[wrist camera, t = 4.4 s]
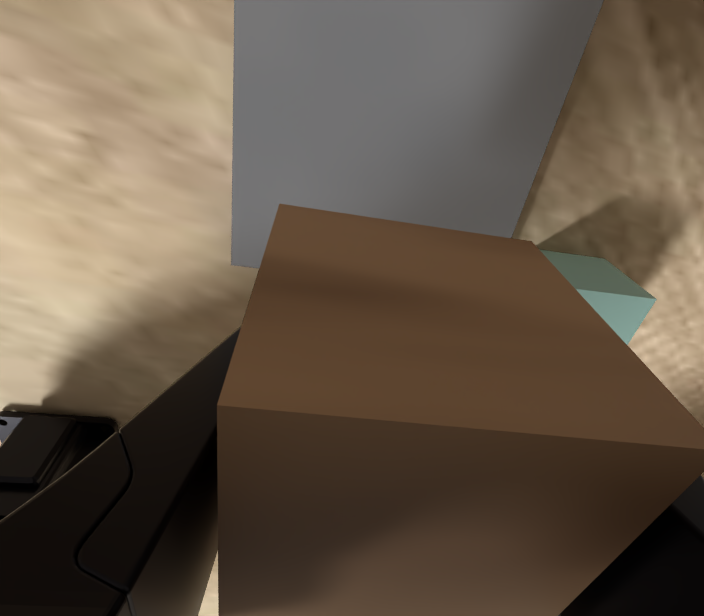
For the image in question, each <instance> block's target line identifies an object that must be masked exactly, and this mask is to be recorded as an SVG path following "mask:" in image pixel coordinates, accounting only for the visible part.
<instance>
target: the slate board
mask: <svg viewBox="0 0 704 616" xmlns="http://www.w3.org/2000/svg"><path fill="white" fill-rule="evenodd" d="M603 1H604V0H234V77H233V161H232V246H231V265H235V266H244V267H252V268H260V265H261V262H262V258H263V255H264V252H265V249H266V245H267V242H268V239H269V236H270V233H271V229H272V226H273V223H274V220H275V216H276V213H277V210H278V207H279V204H286V205H293V206H299V207H306V208H313V209H319V210H326V211H333V212H339V213H346V214H353V215H359V216H366V217H373V218H379V219H386V220H393V221H399V222H406V223H412V224H419V225H426V226H432V227H439V228H446V229H452V230H459V231H466V232H472V233H479V234H486V235H492V236H499V237H506V238H511V237H512V235H513V232H514V230H515V227H516V224H517V222H518V219H519V217H520V214H521V212H522V209H523V206H524V204H525V201H526V199H527V196H528V194H529V191H530V188H531V186H532V183H533V181H534V178H535V176H536V173H537V170H538V168H539V165H540V163H541V160H542V158H543V155H544V152H545V150H546V147H547V145H548V142H549V140H550V137H551V134H552V132H553V129H554V127H555V124H556V122H557V119H558V117H559V114H560V111H561V109H562V106H563V104H564V101H565V99H566V96H567V93H568V91H569V88H570V86H571V83H572V81H573V78H574V75H575V73H576V70H577V68H578V65H579V63H580V60H581V57H582V55H583V52H584V50H585V47H586V45H587V42H588V39H589V37H590V34H591V32H592V29H593V27H594V24H595V21H596V19H597V16H598V14H599V11H600V9H601V6H602V3H603Z"/></svg>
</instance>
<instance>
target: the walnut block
mask: <svg viewBox="0 0 704 616" xmlns="http://www.w3.org/2000/svg"><path fill="white" fill-rule="evenodd" d="M217 469H218V593H219V616H558V615H559V614H560V613H561V612H562V611H563V610H564V609H565V608H566V607H567V606H568V605H569V604H570V603H571V602H572V601H573V600H574V599H575V598H576V597H577V596H578V595H579V594H580V593H581V592H582V591H583V590H584V589H585V588H586V587H587V586H588V585H589V584H590V583H591V582H592V581H593V580H595V579H596V578H597V577H598V576H599V575H600V574H601V573H602V572H603V571H604V570H605V569H606V568H607V567H608V566H609V565H610V564H611V563H612V562H613V561H614V560H615V559H616V558H617V557H618V556H619V555H620V554H621V553H622V552H623V551H624V550H625V549H626V548H627V547H628V546H629V545H630V544H631V543H632V542H633V541H634V540H635V539H636V538H637V537H638V536H639V535H640V534H641V533H642V532H643V531H644V530H645V529H646V528H647V527H648V526H649V525H650V524H651V523H652V522H653V521H654V520H655V519H656V518H657V517H658V516H659V515H660V514H661V513H662V512H663V511H664V510H665V509H666V508H667V507H668V506H669V505H670V504H672V503H673V502H674V501H675V500H676V499H677V498H678V497H679V496H680V495H681V494H682V493H683V492H684V491H685V490H686V489H687V488H688V487H689V486H690V485H691V484H692V483H693V482H694V481H695V480H696V479H697V478H698V477H699V476H700V475H701V474H702V473H703V472H704V428H703V427H702V426H701V425H700V424H699V423H698V422H697V420H696V419H695V418H694V417H693V416H692V415H691V414H690V413H689V412H688V411H687V410H686V409H685V407H684V406H683V405H682V404H681V403H680V402H679V401H678V400H677V399H676V398H675V397H674V395H673V394H672V393H671V392H670V391H669V390H668V389H667V388H666V387H665V386H664V385H663V384H662V382H661V381H660V380H659V379H658V378H657V377H656V376H655V375H654V374H653V373H652V372H651V371H650V369H649V368H648V367H647V366H646V365H645V364H644V363H643V362H642V361H641V360H640V359H639V357H638V356H637V355H636V354H635V353H634V352H633V351H632V350H631V349H630V348H629V347H628V346H627V344H626V343H625V342H624V341H623V340H622V339H621V338H620V337H619V336H618V335H617V334H616V333H615V331H614V330H613V329H612V328H611V327H610V326H609V325H608V324H607V323H606V322H605V321H604V319H603V318H602V317H601V316H600V315H599V314H598V313H597V312H596V311H595V310H594V309H593V308H592V306H591V305H590V304H589V303H588V302H587V301H586V300H585V299H584V298H583V297H582V296H581V295H580V293H579V292H578V291H577V290H576V289H575V288H574V287H573V286H572V285H571V284H570V283H569V281H568V280H567V279H566V278H565V277H564V276H563V275H562V274H561V273H560V272H559V271H558V270H557V268H556V267H555V266H554V265H553V264H552V263H551V262H550V261H549V260H548V259H547V258H546V257H545V255H544V254H543V253H542V252H541V251H540V250H539V249H538V248H537V247H536V246H535V245H534V243H533V242H532V241H526V240H519V239H512V238H506V237H499V236H492V235H486V234H479V233H472V232H466V231H459V230H452V229H446V228H439V227H432V226H426V225H419V224H412V223H406V222H399V221H393V220H386V219H379V218H373V217H366V216H359V215H353V214H346V213H339V212H333V211H326V210H319V209H313V208H306V207H299V206H293V205H286V204H279V207H278V210H277V213H276V216H275V220H274V223H273V226H272V229H271V233H270V236H269V239H268V242H267V245H266V249H265V252H264V255H263V258H262V262H261V265H260V268H259V271H258V274H257V278H256V281H255V284H254V287H253V291H252V294H251V297H250V300H249V304H248V307H247V310H246V313H245V316H244V320H243V323H242V326H241V329H240V333H239V336H238V339H237V342H236V345H235V349H234V352H233V355H232V358H231V362H230V365H229V368H228V371H227V374H226V378H225V381H224V384H223V387H222V391H221V394H220V397H219V400H218V404H217Z"/></svg>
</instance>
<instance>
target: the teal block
mask: <svg viewBox="0 0 704 616" xmlns="http://www.w3.org/2000/svg"><path fill="white" fill-rule="evenodd" d="M540 251H541V252H542V253H543V254H544V255H545V257H546V258H547V259H548V260H549V261H550V262H551V263H552V264H553V265H554V266H555V267H556V268H557V270H558V271H559V272H560V273H561V274H562V275H563V276H564V277H565V278H566V279H567V280H568V281H569V283H570V284H571V285H572V286H573V287H574V288H575V289H576V290H577V291H578V292H579V293H580V295H581V296H582V297H583V298H584V299H585V300H586V301H587V302H588V303H589V304H590V305H591V306H592V308H593V309H594V310H595V311H596V312H597V313H598V314H599V315H600V316H601V317H602V318H603V319H604V321H605V322H606V323H607V324H608V325H609V326H610V327H611V328H612V329H613V330H614V331H615V333H616V334H617V335H618V336H619V337H620V338H621V339H622V340H623V341H624V342H625V343H626V344H627V345H628V343H629V342H630V340H631V338H632V337H633V335H634V334H635V332H636V331H637V329H638V327H639V326H640V324H641V323H642V321H643V320H644V318H645V317H646V315H647V313H648V312H649V310H650V309H651V307H652V306H653V304H654V302H655V301H656V298H654V297H653V296H652V295H651V294H649V293H648V292H647V291H645V290H644V289H643V288H642V287H640V286H639V285H638V284H637V283H635V282H634V281H633V280H631V279H630V278H629V277H628V276H626V275H625V274H624V273H622V272H621V271H620V270H619V269H617V268H616V267H615V266H613V265H612V264H611V263H610V262H608V261H607V260H606V259H604V258H596V257H589V256H582V255H575V254H568V253H560V252H553V251H546V250H540Z"/></svg>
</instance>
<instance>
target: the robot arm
mask: <svg viewBox="0 0 704 616" xmlns="http://www.w3.org/2000/svg"><path fill="white" fill-rule="evenodd" d="M240 329H241V326H240V327H239V328H238V329H237V330H236V331H234V332H233V333H232V334H231V335H230V336H229V337H227V338H226V339H225V340H224V341H223V342H221V343H220V344H219V345H218V346H217V347H216V348H214V349H213V350H212V351H211V352H210V353H208V354H207V355H206V356H205V357H204V358H203V359H201V360H200V361H199V362H198V363H197V364H196V365H194V366H193V367H192V368H191V369H190V370H188V371H187V372H186V373H185V374H184V375H183V376H181V377H180V378H179V379H178V380H177V381H175V382H174V383H173V384H172V385H171V386H170V387H168V388H167V389H166V390H165V391H164V392H163V393H161V394H160V395H159V396H158V397H157V398H155V399H154V400H153V401H152V402H151V403H150V404H148V405H147V406H146V407H145V408H144V409H142V410H141V411H140V412H139V413H138V414H137V415H135V416H134V417H133V418H132V419H131V420H129V421H128V422H127V423H126V424H125V425H124V426H122V427H121V428H120V429H119V431H118V426H117V423H116V422H115V421H114V420H112V419H110V418H99V417H84V416H69V415H54V414H39V413H24V412H10V411H1V412H0V440H1V443H2V444H1V446H0V616H198V613H199V610H200V607H201V603H202V600H203V597H204V594H205V590H206V587H207V584H208V580H209V577H210V574H211V570H212V567H213V564H214V561H215V557H216V554H217V551H218V469H217V404H218V400H219V397H220V394H221V391H222V387H223V384H224V381H225V378H226V374H227V371H228V368H229V365H230V362H231V358H232V355H233V352H234V349H235V345H236V342H237V339H238V336H239V333H240ZM560 616H704V479H703V477H702V476H701V475H700V476H699V477H698V478H697V479H696V480H695V481H694V482H693V483H692V484H691V485H690V486H689V487H688V488H687V489H686V490H685V491H684V492H683V493H682V494H681V495H680V496H679V497H678V498H677V499H676V500H675V501H674V502H673V503H672V504H670V505H669V506H668V507H667V508H666V509H665V510H664V511H663V512H662V513H661V514H660V515H659V516H658V517H657V518H656V519H655V520H654V521H653V522H652V523H651V524H650V525H649V526H648V527H647V528H646V529H645V530H644V531H643V532H642V533H641V534H640V535H639V536H638V537H637V538H636V539H635V540H634V541H633V542H632V543H631V544H630V545H629V546H628V547H627V548H626V549H625V550H624V551H623V552H622V553H621V554H620V555H619V556H618V557H617V558H616V559H615V560H614V561H613V562H612V563H611V564H610V565H609V566H608V567H607V568H606V569H605V570H604V571H603V572H602V573H601V574H600V575H599V576H598V577H597V578H596V579H595V580H593V581H592V582H591V583H590V584H589V585H588V586H587V587H586V588H585V589H584V590H583V591H582V592H581V593H580V594H579V595H578V596H577V597H576V598H575V599H574V600H573V601H572V602H571V603H570V604H569V605H568V606H567V607H566V608H565V609H564V610H563V611H562V612H561V613H560Z"/></svg>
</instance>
